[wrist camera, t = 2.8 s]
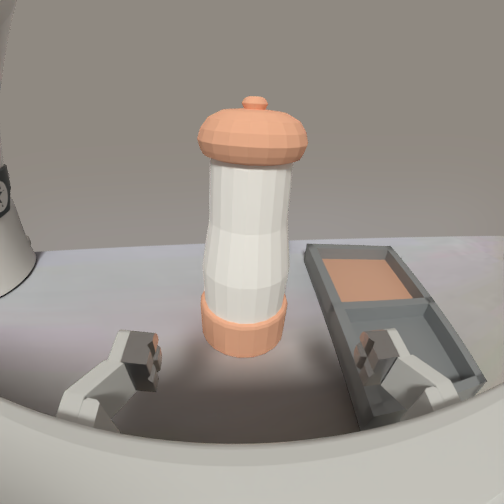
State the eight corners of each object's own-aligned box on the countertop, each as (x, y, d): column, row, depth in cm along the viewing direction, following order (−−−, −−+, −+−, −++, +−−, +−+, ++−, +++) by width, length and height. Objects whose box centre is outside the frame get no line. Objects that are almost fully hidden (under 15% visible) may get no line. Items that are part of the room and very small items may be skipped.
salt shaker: (255, 293, 30) (269, 97, 21) (298, 337, 25) (338, 105, 15) (190, 315, 27) (180, 96, 17) (226, 370, 22) (230, 94, 12)
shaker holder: (360, 432, 17) (373, 416, 15) (304, 261, 36) (306, 243, 35) (472, 397, 17) (486, 381, 16) (385, 262, 37) (390, 246, 36)
